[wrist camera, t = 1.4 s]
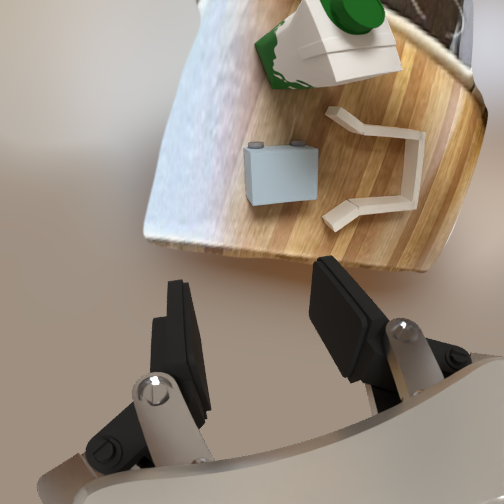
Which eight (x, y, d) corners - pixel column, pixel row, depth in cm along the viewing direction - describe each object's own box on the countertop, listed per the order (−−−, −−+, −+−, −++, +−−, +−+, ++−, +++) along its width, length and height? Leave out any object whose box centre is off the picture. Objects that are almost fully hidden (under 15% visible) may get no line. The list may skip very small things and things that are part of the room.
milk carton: (303, 27, 29) (393, -15, 12) (323, 82, 34) (425, 77, 17) (245, 40, 29) (304, -18, 12) (267, 98, 34) (346, 92, 16)
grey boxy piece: (242, 142, 36) (250, 146, 32) (304, 139, 38) (318, 143, 34) (246, 200, 40) (253, 210, 36) (304, 194, 42) (316, 203, 38)
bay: (324, 105, 35) (336, 106, 32) (412, 116, 39) (426, 118, 36) (321, 224, 45) (331, 233, 42) (402, 214, 48) (414, 221, 45)
